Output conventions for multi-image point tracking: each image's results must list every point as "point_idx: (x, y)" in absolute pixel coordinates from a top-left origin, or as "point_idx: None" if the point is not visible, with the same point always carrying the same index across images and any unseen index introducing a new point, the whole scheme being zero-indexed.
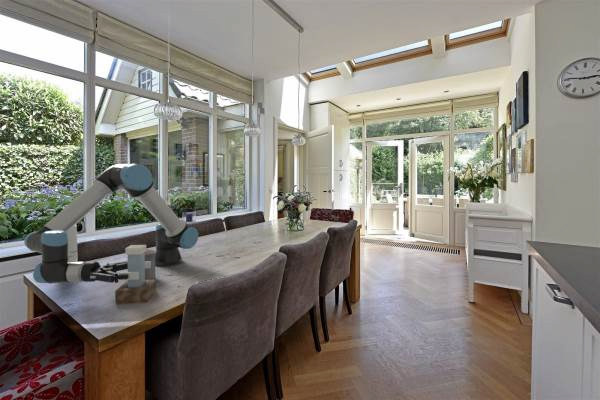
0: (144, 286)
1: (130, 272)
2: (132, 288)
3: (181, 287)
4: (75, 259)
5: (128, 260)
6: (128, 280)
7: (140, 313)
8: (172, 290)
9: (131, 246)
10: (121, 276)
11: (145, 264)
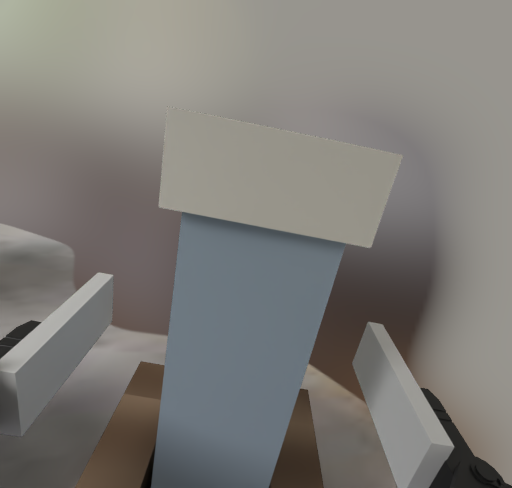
0: None
1: (402, 360)
2: (289, 475)
3: (111, 335)
4: None
5: (321, 307)
6: (269, 476)
7: (382, 467)
8: (131, 363)
9: (274, 128)
10: (453, 437)
11: (94, 314)
